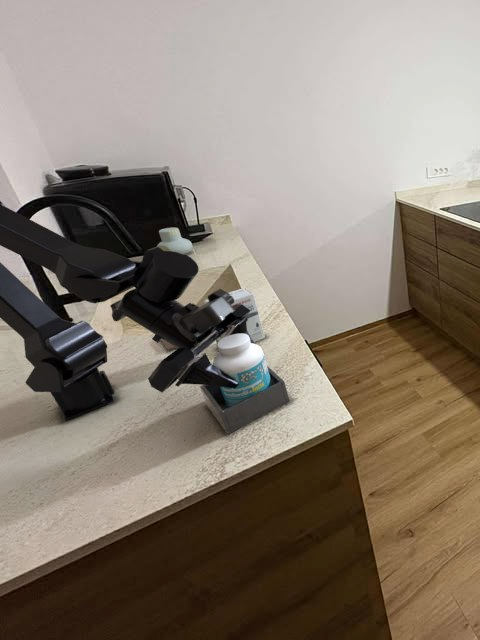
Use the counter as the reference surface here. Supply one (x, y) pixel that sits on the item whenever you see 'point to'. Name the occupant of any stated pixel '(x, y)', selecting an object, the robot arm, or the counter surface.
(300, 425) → the counter surface
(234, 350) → the pill bottle
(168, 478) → the counter surface
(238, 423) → the sink basin
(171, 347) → the trivet
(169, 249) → the air freshener
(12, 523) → the counter surface
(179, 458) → the counter surface
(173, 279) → the robot arm
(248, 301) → the ink box
